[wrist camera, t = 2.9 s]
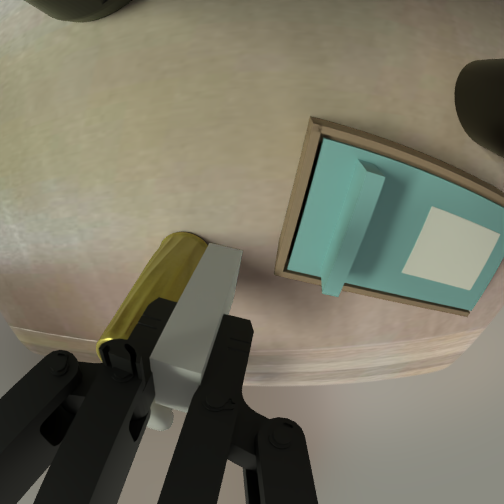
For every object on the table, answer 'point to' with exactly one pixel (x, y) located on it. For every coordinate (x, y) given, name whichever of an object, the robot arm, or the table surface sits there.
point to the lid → (396, 229)
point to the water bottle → (482, 103)
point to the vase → (157, 282)
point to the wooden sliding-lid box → (380, 146)
